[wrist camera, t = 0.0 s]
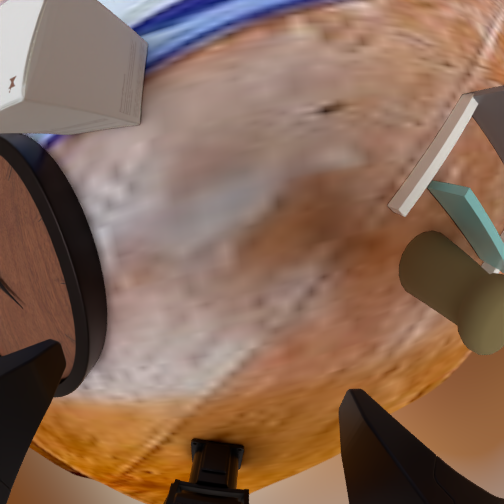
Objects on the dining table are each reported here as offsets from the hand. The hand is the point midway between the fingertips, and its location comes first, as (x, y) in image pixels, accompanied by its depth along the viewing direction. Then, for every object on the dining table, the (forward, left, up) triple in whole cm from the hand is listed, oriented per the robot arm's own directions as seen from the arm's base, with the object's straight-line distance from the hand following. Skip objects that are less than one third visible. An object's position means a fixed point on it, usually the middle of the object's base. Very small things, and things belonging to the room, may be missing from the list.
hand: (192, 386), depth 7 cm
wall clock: (-6, +27, -15) cm, 32 cm away
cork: (0, -17, -15) cm, 22 cm away
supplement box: (+12, +12, -15) cm, 22 cm away
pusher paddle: (+4, -19, -14) cm, 24 cm away
